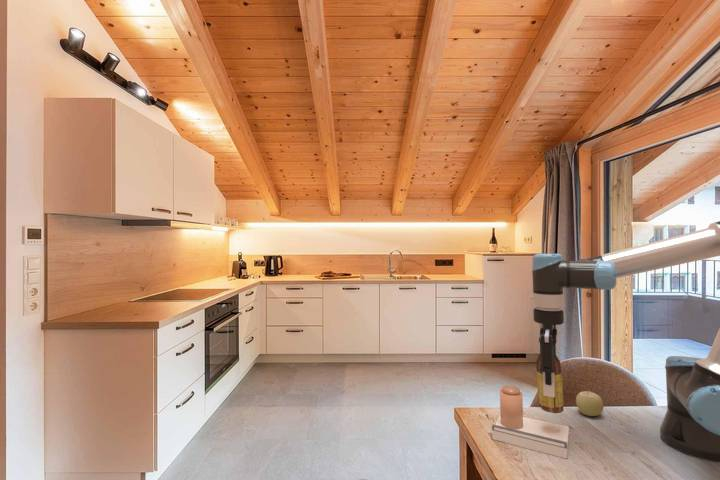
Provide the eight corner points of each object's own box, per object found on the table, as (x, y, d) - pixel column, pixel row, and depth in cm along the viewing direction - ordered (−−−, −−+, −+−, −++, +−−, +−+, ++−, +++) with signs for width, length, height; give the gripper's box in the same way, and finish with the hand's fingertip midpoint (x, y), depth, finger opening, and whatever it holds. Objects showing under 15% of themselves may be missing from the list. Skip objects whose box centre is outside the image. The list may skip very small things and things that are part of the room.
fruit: (606, 421, 108) (605, 395, 108) (578, 417, 111) (577, 391, 111) (600, 411, 115) (599, 386, 115) (574, 407, 118) (573, 383, 118)
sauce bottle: (559, 405, 101) (557, 335, 102) (567, 415, 95) (565, 340, 96) (534, 403, 103) (533, 334, 103) (541, 413, 96) (539, 339, 97)
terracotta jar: (524, 422, 103) (523, 387, 104) (521, 431, 98) (520, 394, 98) (502, 417, 106) (501, 383, 107) (498, 425, 101) (497, 390, 102)
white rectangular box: (569, 435, 100) (568, 422, 100) (567, 459, 89) (566, 444, 89) (501, 420, 110) (501, 408, 110) (492, 439, 99) (492, 425, 99)
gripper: (537, 303, 110) (539, 378, 109) (528, 312, 94) (530, 401, 93) (565, 304, 106) (567, 383, 105) (561, 315, 90) (563, 407, 89)
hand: (550, 391), depth 99 cm, fingers closed on sauce bottle, 6 cm apart
